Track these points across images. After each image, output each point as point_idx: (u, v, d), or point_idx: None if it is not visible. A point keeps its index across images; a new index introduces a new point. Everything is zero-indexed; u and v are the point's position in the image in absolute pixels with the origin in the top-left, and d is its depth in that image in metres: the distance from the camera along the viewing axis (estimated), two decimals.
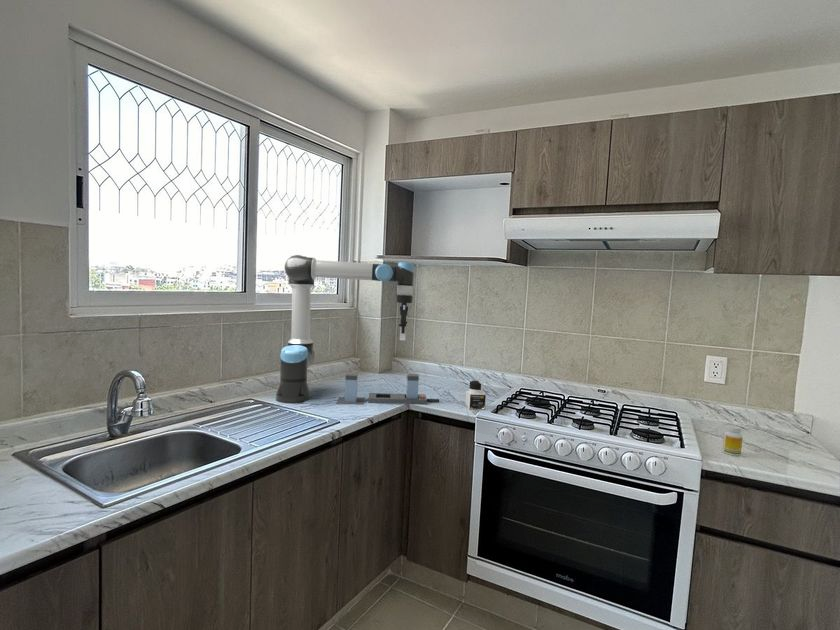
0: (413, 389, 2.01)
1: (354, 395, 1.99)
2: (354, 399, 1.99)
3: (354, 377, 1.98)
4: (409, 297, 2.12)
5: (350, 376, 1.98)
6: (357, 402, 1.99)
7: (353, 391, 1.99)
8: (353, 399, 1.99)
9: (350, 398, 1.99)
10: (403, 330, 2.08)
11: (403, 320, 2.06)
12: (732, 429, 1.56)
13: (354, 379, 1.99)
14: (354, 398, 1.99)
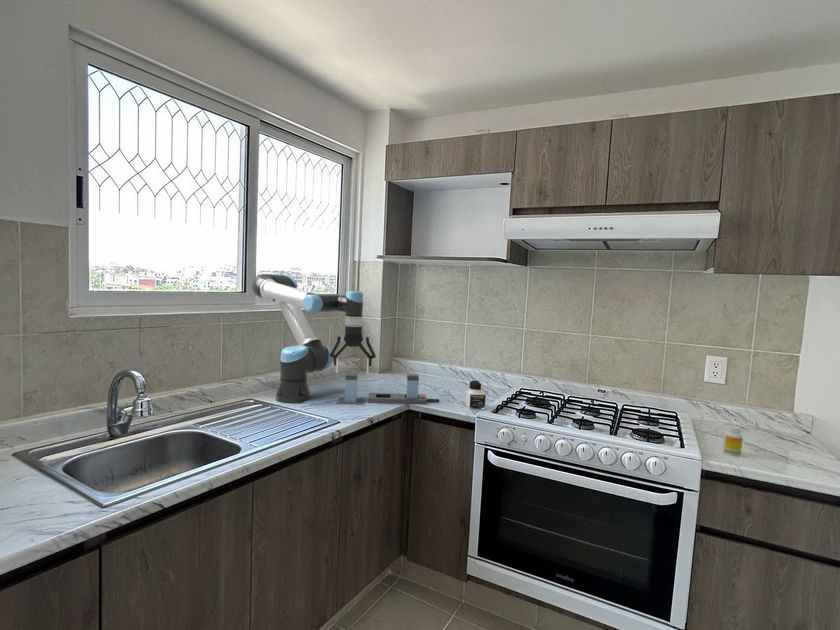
0: (413, 389, 2.01)
1: (354, 395, 1.99)
2: (354, 399, 1.99)
3: (354, 377, 1.98)
4: (346, 328, 1.97)
5: (350, 376, 1.98)
6: (357, 402, 1.99)
7: (353, 391, 1.99)
8: (353, 399, 1.99)
9: (350, 398, 1.99)
10: None
11: (331, 351, 1.99)
12: (732, 429, 1.56)
13: (354, 379, 1.99)
14: (354, 398, 1.99)
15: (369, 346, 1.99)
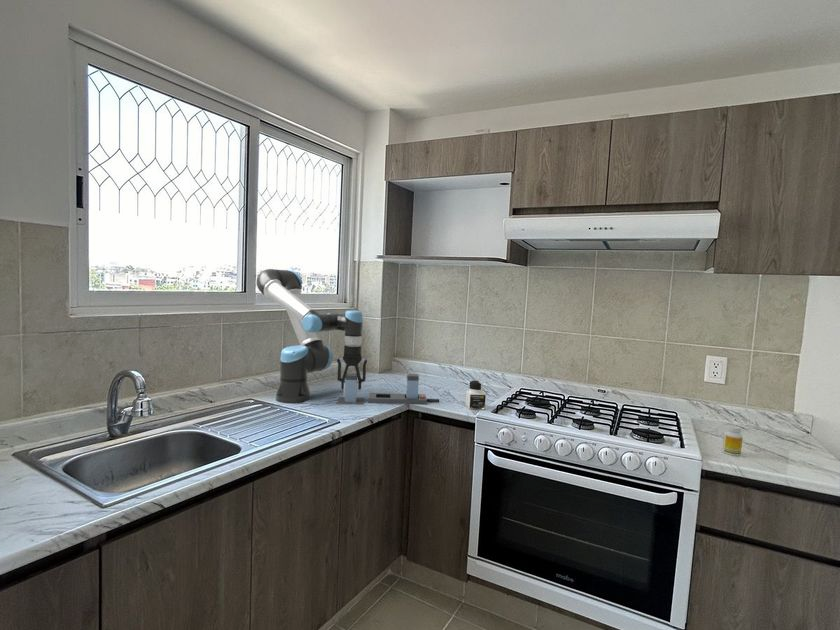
0: (413, 389, 2.01)
1: (354, 395, 1.99)
2: (354, 399, 1.99)
3: (354, 377, 1.98)
4: (345, 348, 1.97)
5: (350, 376, 1.98)
6: (357, 402, 1.99)
7: (353, 391, 1.99)
8: (353, 399, 1.99)
9: (350, 398, 1.99)
10: (341, 385, 2.01)
11: None
12: (732, 429, 1.56)
13: (354, 379, 1.99)
14: (354, 398, 1.99)
15: (364, 369, 2.00)
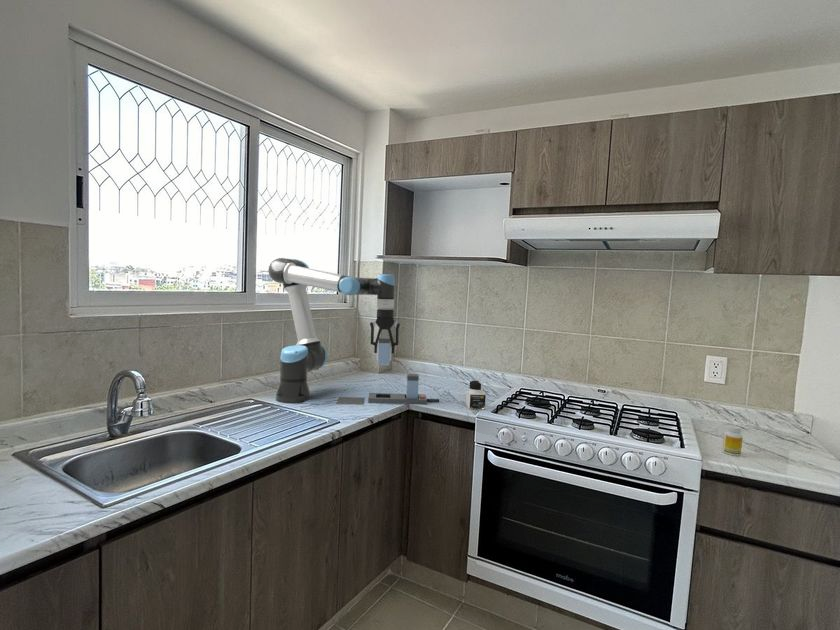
0: (413, 389, 2.01)
1: (387, 358, 1.99)
2: (387, 362, 1.99)
3: (387, 340, 1.98)
4: (378, 311, 1.97)
5: (383, 339, 1.98)
6: (357, 402, 1.99)
7: (386, 354, 1.98)
8: (387, 363, 1.99)
9: (384, 361, 1.99)
10: None
11: None
12: (732, 429, 1.56)
13: (387, 342, 1.98)
14: (387, 361, 1.99)
15: (397, 332, 1.99)
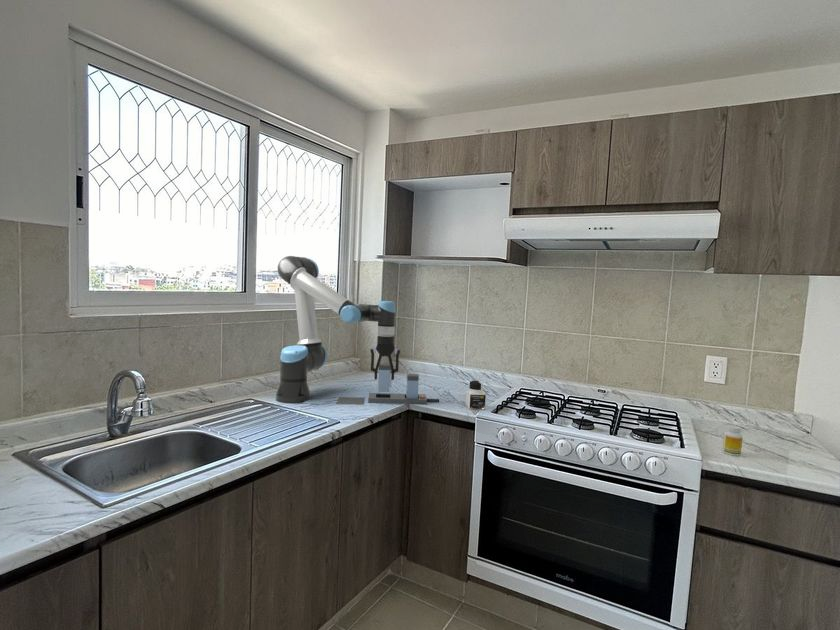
0: (413, 389, 2.01)
1: (387, 385, 2.00)
2: (387, 389, 2.00)
3: (387, 367, 1.99)
4: (379, 338, 1.98)
5: (383, 366, 1.99)
6: (357, 402, 1.99)
7: (386, 381, 1.99)
8: (387, 389, 2.00)
9: (384, 388, 2.00)
10: None
11: (371, 365, 2.01)
12: (732, 429, 1.56)
13: (387, 369, 1.99)
14: (387, 388, 2.00)
15: (397, 359, 2.01)
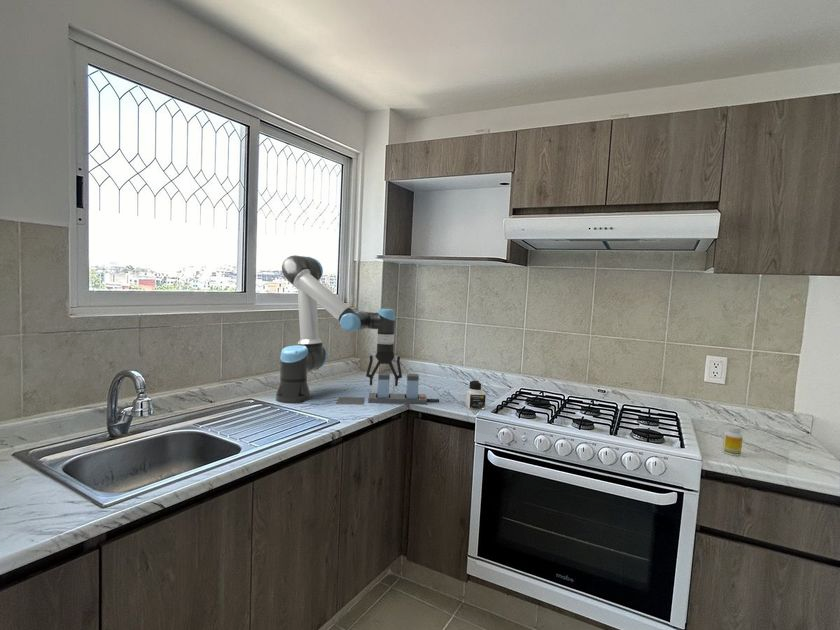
0: (413, 389, 2.01)
1: (387, 395, 2.00)
2: None
3: (387, 377, 1.99)
4: (378, 346, 1.98)
5: (383, 376, 1.99)
6: (357, 402, 1.99)
7: (386, 391, 2.00)
8: None
9: (383, 397, 2.00)
10: None
11: (367, 371, 2.01)
12: (732, 429, 1.56)
13: (387, 379, 1.99)
14: None
15: (398, 365, 2.01)
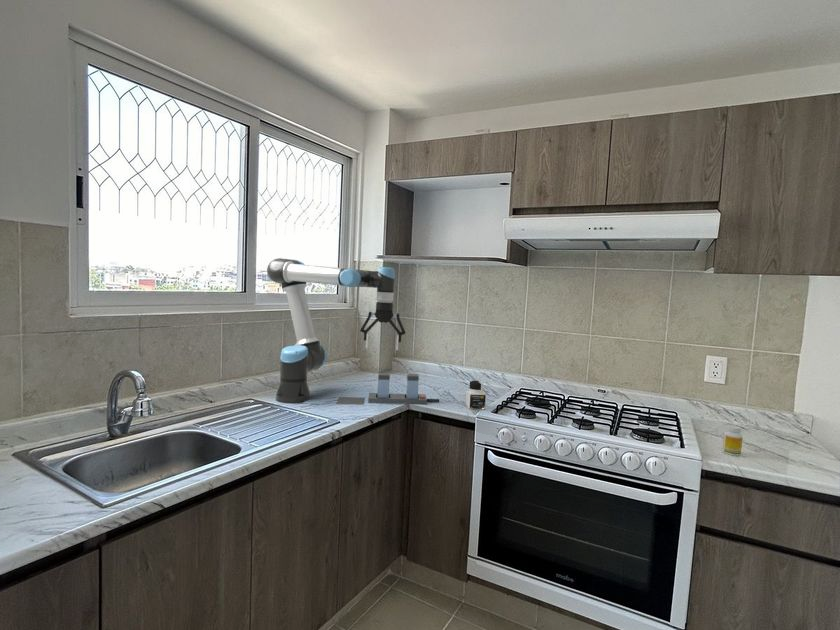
0: (413, 389, 2.01)
1: (387, 395, 2.00)
2: None
3: (387, 377, 1.99)
4: (378, 304, 1.98)
5: (383, 376, 1.99)
6: (357, 402, 1.99)
7: (386, 391, 2.00)
8: None
9: (383, 397, 2.00)
10: (364, 337, 2.01)
11: (362, 326, 2.01)
12: (732, 429, 1.56)
13: (387, 379, 1.99)
14: None
15: (399, 322, 2.00)
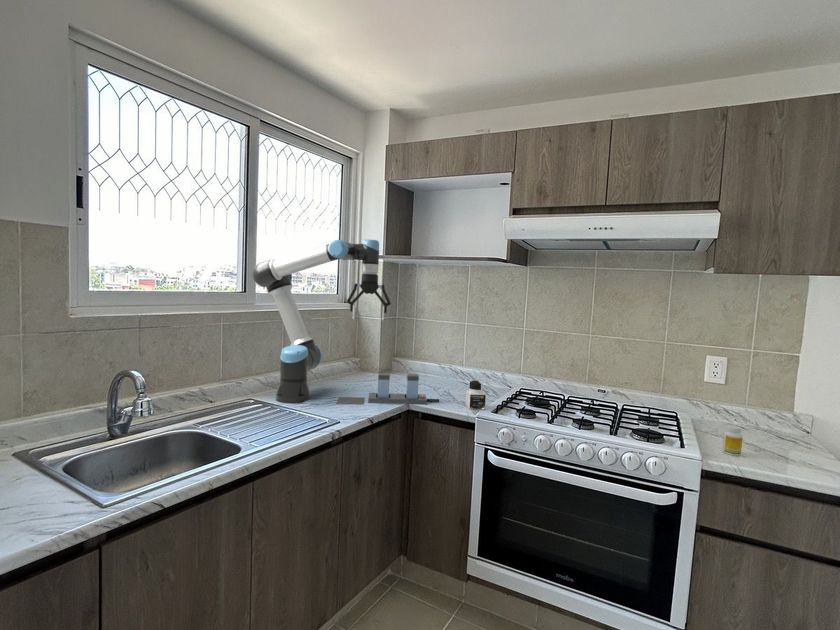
0: (413, 389, 2.01)
1: (387, 395, 2.00)
2: None
3: (387, 377, 1.99)
4: (363, 275, 2.04)
5: (383, 376, 1.99)
6: (357, 402, 1.99)
7: (386, 391, 2.00)
8: None
9: (383, 397, 2.00)
10: (350, 308, 2.06)
11: (348, 298, 2.06)
12: (732, 429, 1.56)
13: (387, 379, 1.99)
14: None
15: (385, 293, 2.06)
